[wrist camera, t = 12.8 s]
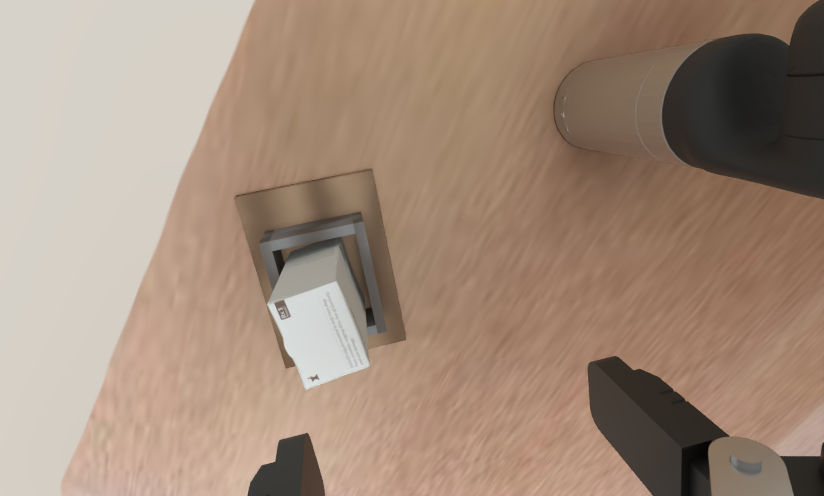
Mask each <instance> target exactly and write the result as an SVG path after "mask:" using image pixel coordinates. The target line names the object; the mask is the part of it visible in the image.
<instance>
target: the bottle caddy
mask: <svg viewBox="0 0 824 496" xmlns="http://www.w3.org/2000/svg"><path fill="white" fill-rule="evenodd" d="M234 199H235V202H236V205H237V209H238V212H239V215H240V219H241V222H242V225H243V228H244V232H245V235H246V238H247V242H248V245H249V248H250V252H251V255H252V258H253V261H254V265H255V268H256V271H257V275H258V278H259V281H260V285H261V288H262V291H263V295H264V298H265V301H266V304H267V303H268V301H269V299H270V297H271V294H272V292H273V290H274V288H275V286H276V283H277V281H278V279H279V277H280V275H281V272H282V270H283V268H284V265H285V263H286V261H287V259H288V257H289V254H290V252H292V251H294V250H297V249H300V248H303V247H306V246H309V245H312V244H315V243H318V242H321V241H324V240H328V239H332V238H337V237H342V239H343V243H344V246H345V250H346V252H347V255H348V258H349V261H350V264H351V267H352V269H353V272H354V275H355V277H356V279H357V282H358V284H359V287H360V289H361V291H362V293H363V295H364V298H365V310H366V323H367V340H368V349H370V348H374V347H378V346H382V345H387V344H391V343H395V342H399V341H403V340H406V336H405V331H404V326H403V321H402V316H401V311H400V306H399V301H398V296H397V291H396V287H395V282H394V277H393V272H392V267H391V262H390V257H389V252H388V247H387V242H386V237H385V232H384V227H383V222H382V217H381V212H380V207H379V202H378V197H377V192H376V187H375V182H374V177H373V172H372V169H368V170H363V171H358V172H353V173H348V174H343V175H338V176H333V177H328V178H323V179H318V180H313V181H308V182H303V183H298V184H293V185H288V186H283V187H278V188H273V189H267V190H262V191H257V192H252V193H247V194H242V195H237V196H235V197H234ZM267 308H268V306H267ZM268 311H269V314H270V318H271V321H272V324H273V328H274V331H275V334H276V337H277V341H278V344H279V347H280V351H281V354H282V357H283V361H284V364H285V367H286V368H290V367H294V366H295V363H294V361H293V359H292V358H291V357H290V356H289V355H288V353H287V351H286V349H285V347H284V341H283V337H282V335H281V333H280V331H279V328H278V326H277V324H276V322H275V320H274V318H273V316H272V314H271V312H270V310H269V308H268Z"/></svg>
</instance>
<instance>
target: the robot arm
mask: <svg viewBox="0 0 824 496" xmlns="http://www.w3.org/2000/svg"><path fill="white" fill-rule="evenodd" d="M554 115H555V120H556V124H557V127H558V129H559V131H560V133H561V134H562V136H563V137H564V138H565V139H566V140H567V141H568V142H569V143H571V144H572V145H574V146H576V147H579V148H583V149H588V150H594V151H600V152H605V153H611V154H617V155H623V156H629V157H635V158H641V159H647V160H653V161H659V162H665V163H672V164H678V165H684V166H690V167H696V168H701V169H704V170H706V171H708V172H711V173H715V174H719V175H724V176H729V177H734V178H739V179H743V180H747V181H751V182H756V183H760V184H764V185H768V186H772V187H776V188H779V189H783V190H787V191H791V192H795V193H799V194H803V195H807V196H812V197H816V198H821V199H824V0H819V1H817V2H816V3H814V4H813V5H812V6H810V7H809V8H808V9H807V10H806V11H805V12H804V13H803V14H802V15H801V16H800V18H799V19H798V21H797V23H796V25H795V28H794V31H793V34H792V38H791V42H790V46H789V45H788V44H786V43H785V42H783V41H782V40H780V39H778V38H776V37H773V36H769V35H763V34H754V33H753V34H741V35H735V36H729V37H724V38H718V39H712V40H707V41H701V42H695V43H690V44H685V45H680V46H674V47H668V48H663V49H657V50H651V51H646V52H640V53H634V54H629V55H623V56H617V57H611V58H606V59H600V60H595V61H589V62H586V63H584V64H582V65H580V66H578V67H577V68H575V69H574V70H572V71H571V73H570V74H569V75H568V76H567V77H566V78H565V79H564V81H563V82H562V84H561V85H560V88H559V90H558V93H557V95H556V100H555V106H554ZM588 381H589V398H590V410H591V414H592V417H593V419H594V422H595V424H596V426H597V427H598V429H599V430H600V431H601V433H602V434H603V435H604V436H605V438H606V439H607V440H608V441H609V442H610V444H611V445H612V446H613V447H614V449H615V450H616V451H617V452H618V453H619V455H620V456H621V457H622V458H623V460H624V461H625V462H626V463H627V464H628V466H629V467H630V468H631V469H632V470H633V472H634V473H635V474H636V475H637V477H638V478H639V479H640V480H641V481H642V483H643V484H644V485H645V486H646V488H647V489H648V490H649V491H650V492H651V494H652V495H653V496H824V443H823V445H822V449H821V456H779V455H778V454H777V453H776V452H774V451H773V450H772V449H770V448H769V447H767V446H765V445H763V444H761V443H759V442H757V441H754V440H751V439H747V438H742V437H730V436H729V435H728V434H726V433H725V432H724V431H723V430H721V429H720V428H719V427H718V426H717V425H715V424H714V423H713V422H712V421H711V420H709V419H708V418H707V417H706V416H705V415H703V414H702V413H701V412H700V411H699V410H697V409H696V408H695V407H694V406H693V405H691V404H690V403H689V402H688V401H687V402H686V401H685V399H684V398H683V397H682V396H681V395H679V394H678V393H677V392H674V391H673V389H672V388H671V387H670V386H669V385H667V384H666V383H665V382H664V381H663V380H661V379H660V378H659V377H657V376H655V375H652V374H650V373H648V372H646V371H643V370H641V369H637V370H632V369H631V368H630V367H629V366H628V365H627V364H626V363H624V362H623V361H622V360H621V359H620V358H619V357H617V356H613V357H609V358H605V359H601V360H597V361H593V362H590V363H589V365H588ZM248 496H325V491H324V485H323V480H322V476H321V472H320V469H319V466H318V462H317V459H316V456H315V452H314V449H313V446H312V442H311V439H310V436H309V434H308V433H305V434H302V435H298V436H294V437H290V438H286V439H282V440H280V441H279V443H278V448H277V454H276V460H275V462H273V463H269V464H265V465H262V466H261V467H260V469H259V470H258V472H257V474H256V475H255V477H254V478H253V480H252V481H251V483H250V487H249V491H248Z"/></svg>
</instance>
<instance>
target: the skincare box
mask: <svg viewBox="0 0 824 496" xmlns="http://www.w3.org/2000/svg"><path fill="white" fill-rule="evenodd" d="M267 306H268V308H269V310H270V312H271V314H272V316H273V318H274V320H275V322H276V324H277V326H278V328H279V331H280V333H281V335H282V337H283V341H284V347H285V349H286V351H287V353H288V355H289V356H290V357H291V358H292V359H293V361H294V363H295V366H296V368H297V370H298V372H299V375H300V378H301V381H302V384H303V386H304V388H305V389H306V390H308V389H310V388H313V387H315V386H318V385H321V384H324V383H326V382H329V381H332V380H334V379H337V378H339V377H342V376H345V375H347V374H350V373H353V372H356V371H359V370H362V369H365V368H367V367H369V366H370V363H369V354H368V340H367V323H366V310H365V298H364V295H363V293H362V291H361V289H360V287H359V284H358V282H357V279H356V277H355V275H354V272H353V269H352V267H351V264H350V261H349V258H348V255H347V252H346V250H345V246H344V243H343V239H342V237H337V238H332V239H328V240H324V241H321V242H318V243H315V244H312V245H309V246H306V247H303V248H300V249H297V250H294V251H292V252H290V254H289V257H288V259H287V261H286V263H285V265H284V268H283V270H282V272H281V275H280V277H279V279H278V281H277V283H276V286H275V288H274V290H273V292H272V294H271V297H270V299H269V301H268V303H267Z"/></svg>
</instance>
